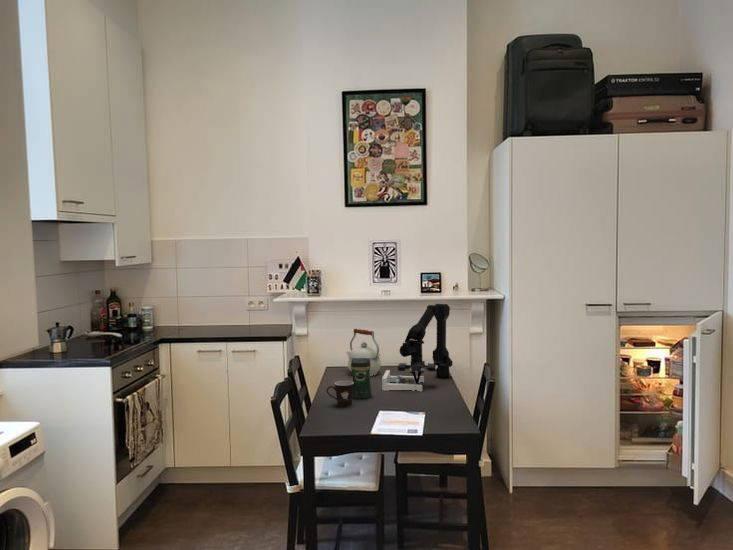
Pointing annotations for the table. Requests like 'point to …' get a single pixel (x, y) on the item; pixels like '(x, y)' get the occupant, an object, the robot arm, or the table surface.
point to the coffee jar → (361, 377)
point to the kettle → (365, 352)
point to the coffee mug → (343, 392)
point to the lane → (388, 386)
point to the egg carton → (407, 381)
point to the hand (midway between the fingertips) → (417, 383)
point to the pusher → (398, 379)
